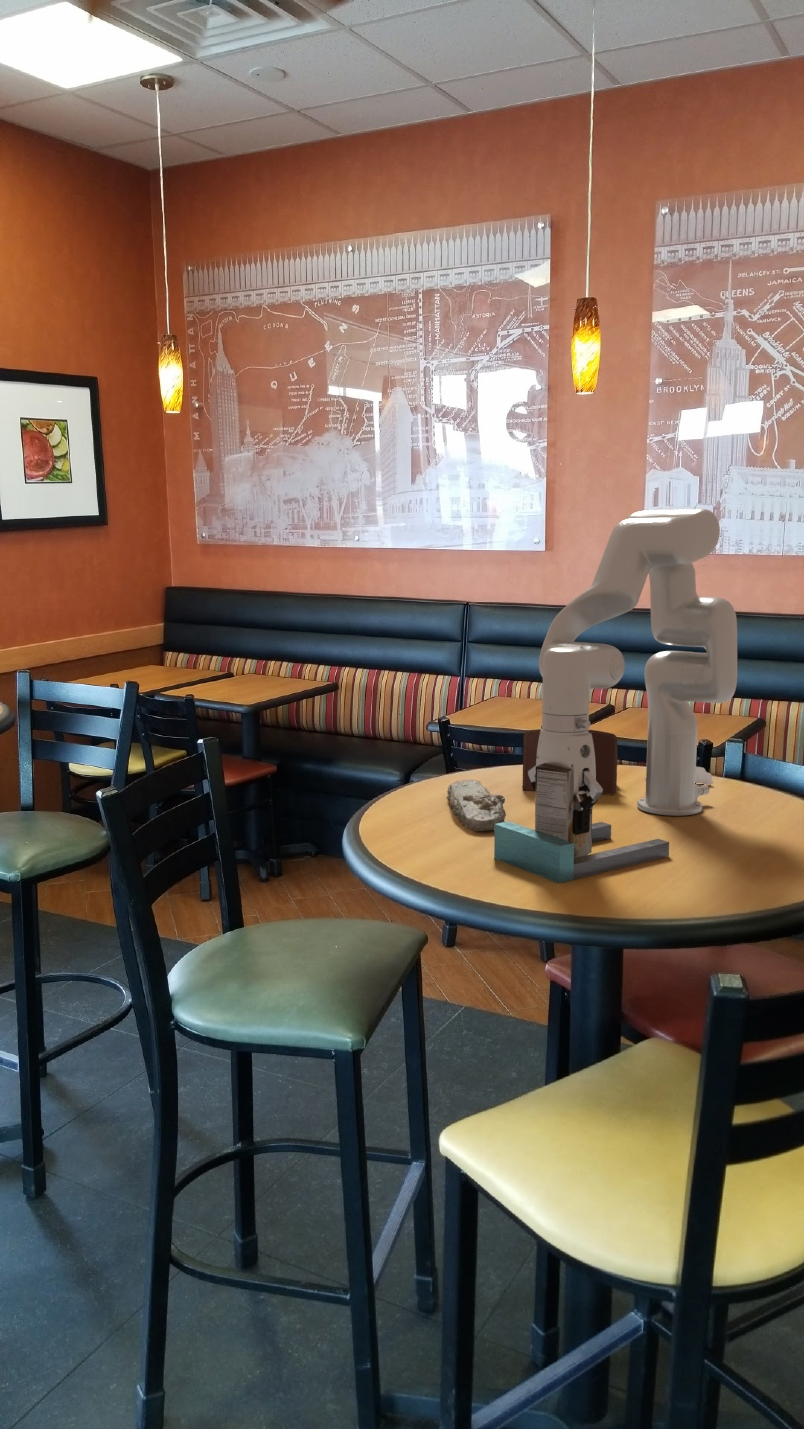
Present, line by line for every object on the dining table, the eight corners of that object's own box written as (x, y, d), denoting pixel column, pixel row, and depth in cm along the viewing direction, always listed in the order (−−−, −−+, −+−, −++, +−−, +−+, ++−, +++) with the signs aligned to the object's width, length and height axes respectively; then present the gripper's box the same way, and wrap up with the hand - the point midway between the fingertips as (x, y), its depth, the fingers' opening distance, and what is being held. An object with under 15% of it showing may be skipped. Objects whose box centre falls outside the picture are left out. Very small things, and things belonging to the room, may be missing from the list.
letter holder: (615, 796, 219) (617, 730, 217) (521, 791, 223) (522, 727, 221) (617, 785, 228) (618, 722, 226) (527, 781, 233) (528, 719, 231)
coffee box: (558, 847, 178) (559, 755, 176) (592, 853, 175) (594, 760, 172) (533, 860, 171) (534, 765, 168) (568, 867, 167) (570, 769, 165)
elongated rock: (486, 797, 225) (441, 800, 224) (485, 773, 224) (439, 776, 223) (515, 832, 190) (461, 836, 189) (513, 803, 189) (459, 807, 189)
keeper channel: (600, 835, 189) (601, 803, 188) (668, 856, 176) (670, 822, 175) (494, 858, 175) (494, 823, 174) (559, 883, 162) (559, 846, 161)
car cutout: (716, 785, 230) (717, 765, 229) (709, 791, 224) (710, 771, 223) (650, 778, 237) (650, 759, 236) (641, 783, 231) (642, 764, 231)
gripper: (620, 728, 164) (617, 835, 167) (546, 714, 178) (544, 813, 181) (586, 733, 160) (583, 843, 163) (512, 718, 174) (511, 819, 177)
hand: (562, 826), depth 172 cm, fingers closed on coffee box, 8 cm apart
